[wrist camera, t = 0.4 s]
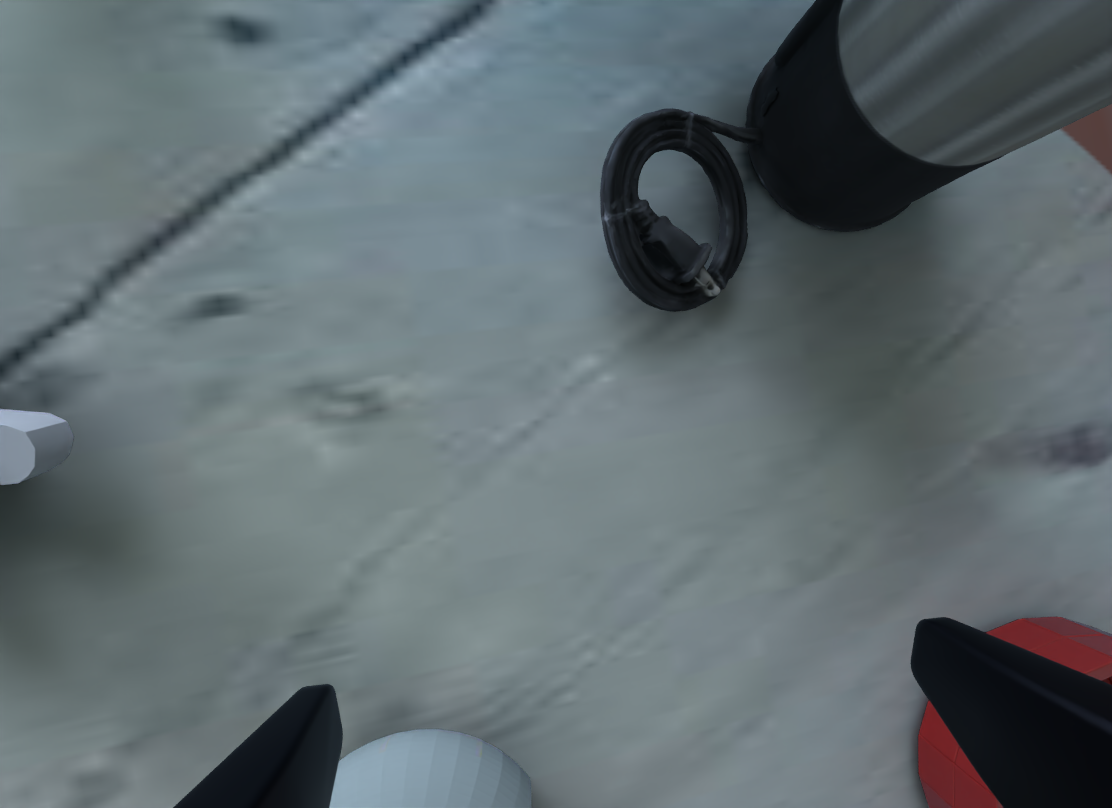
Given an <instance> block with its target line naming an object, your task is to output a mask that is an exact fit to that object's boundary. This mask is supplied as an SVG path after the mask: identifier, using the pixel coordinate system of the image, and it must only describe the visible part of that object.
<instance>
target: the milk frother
mask: <svg viewBox="0 0 1112 808" xmlns="http://www.w3.org/2000/svg"><path fill="white" fill-rule="evenodd" d="M1110 104H1112V0H816V1H815V2H814V3H813V5H812V6H811V7H810V8H809V9H808V11H807V12H806V13H805V14H804V16H803V17H802V18H801V19H800V21H799V22H798V23H797V24H796V26H795V27H794V28H793V29H792V31H791V32H790V33H789V35H788V36H787V37H786V39H785V40H784V42H783V43H782V44H781V46H780V47H779V49H778V51H777V53H776V54H775V55H774V56H773V57H772V58H771V59H770V60H769V62H768V63H767V64H766V65H765V67H764V68H763V70H762V72H761V73H760V75H759V77H758V79H757V81H756V83H755V85H754V87H753V90H752V93H751V96H750V100H749V104H748V108H747V121H746V128H744V127H737V126H733V125H729V124H725V123H722V122H719V121H716V120H713V119H711V118H709V117H706V116H702V115H698V114H694V113H692V112H691V111H689V112H686V111H682V110H679V109H661V110H658V111H655V112H651V113H647V114H644V115H642V116H640V117H637V118H635V119H634V120H633V121H631V122H630V123H629V124H628V125H626V126H625V127H624V128H623V129H622V130H621V131H620V133H619V134H618V135H617V137H616V138H615V139H614V141H613V143H612V145H611V147H610V149H609V151H608V153H607V156H606V159H605V162H604V165H603V169H602V177H601V189H600V198H601V218H602V224H603V231H604V236H605V240H606V244H607V248H608V252H609V255H610V258H611V260H612V262H613V265H614V267H615V269H616V271H617V273H618V275H619V277H620V278H621V279H622V280H623V282H624V284H625V286H627V287H628V289H629V290H630V291H631V292H632V293H634V294H635V295H636V296H637V297H638V298H639V299H641V300H642V301H643V302H645V303H646V304H648V305H650V306H653V307H655V308H658V309H661V310H666V311H672V312H676V311H686V310H690V309H693V308H696V307H698V306H700V305H702V304H704V303H706V302H708V301H710V300H712V299H713V298H715V297H716V296H717V295H718V294H719V293H720V291H721V290H722V289H724V288H725V286H726V284H727V283H728V281H729V279H730V278H732V277H733V275H734V273H735V272H736V270H737V268H738V266H739V264H740V262H741V260H742V257H743V254H744V252H745V248H746V244H747V238H748V233H747V204H746V197H745V192H744V188H743V184H742V181H741V178H740V175H739V172H738V170H737V168H736V166H735V164H734V162H733V160H732V158H731V156H730V155H729V153H728V152H727V150H726V148H725V147H724V146H723V145H722V144H721V142H720V141H719V140H718V139H717V138H716V136H715V135H714V134H713V133H712V132H716V133H719V134H722V135H725V136H727V137H729V138H732V139H734V140H736V141H739V142H743V143H747V144H748V150H749V154H750V157H751V162H752V163H753V165H754V168H755V171H756V173H757V175H758V177H759V178H760V180H761V182H762V184H763V186H764V187H765V188H766V189H767V190H768V191H769V193H770V194H771V196H772V197H773V198H774V199H775V200H776V202H777V203H778V204H779V205H780V206H781V207H782V208H784V209H785V210H786V211H787V212H789V213H790V214H792V215H793V216H795V217H797V218H798V219H800V220H801V221H803V222H806V223H808V224H810V225H813V226H817V227H820V228H822V229H825V230H834V231H843V232H848V231H859V230H864V229H868V228H871V227H875V226H877V225H880V224H882V223H884V222H886V221H888V220H890V219H892V218H893V217H895V216H897V215H898V214H899V213H901V212H902V211H903V210H905V209H906V208H907V207H908V206H909V205H910V204H911V203H912V202H913V201H915V200H917V199H919V198H921V197H923V196H925V195H927V194H928V193H930V192H932V191H934V190H936V189H938V188H940V187H942V186H944V185H946V184H948V183H950V182H952V181H954V180H955V179H957V178H959V177H961V176H964V175H965V174H967V173H969V172H971V171H973V170H975V169H978V168H980V167H982V166H984V165H986V164H988V163H990V162H992V161H995V160H997V159H999V158H1001V157H1002V156H1004V155H1006V154H1008V153H1010V152H1012V151H1014V150H1016V149H1018V148H1020V147H1023V146H1025V145H1027V144H1029V143H1031V142H1033V141H1036V140H1038V139H1040V138H1042V137H1044V136H1046V135H1048V134H1050V133H1052V132H1054V131H1056V130H1058V129H1060V128H1062V127H1064V126H1067V125H1069V124H1071V123H1073V122H1075V121H1077V120H1079V119H1081V118H1083V117H1085V116H1087V115H1089V114H1091V113H1093V112H1095V111H1098V110H1099V109H1101V108H1104V107H1106V106H1108V105H1110ZM662 150H676V151H679V152H683V153H685V154H687V155H689V156H690V157H692V158H693V159H694V160H695V161H697V162H698V163H699V164H700V165H701V166H702V168H703V170H704V171H705V173H706V174H707V176H708V178H709V179H710V182H711V184H712V186H713V189H714V192H715V195H716V199H717V202H718V209H719V219H720V233H719V239H718V245H717V249H716V253H715V255H714V258H713V260H712V262H711V265H710V267H709V268H708V270H706V269H705V267H704V265H705V263H706V262H707V260H708V258H709V254H710V252H711V250H712V247H711V245H710V244H708V243H704V244H701V245H698V244H697V243H696V242H695V241H694V240H693V239H692V238H691V237H690V236H688V235H687V234H686V233H684V232H683V231H681V230H680V229H679V228H677V227H675V226H674V225H672V223H671V222H670V220H669V219H668V218H667V217H666V216H661V217H659V216H657V215H656V214H655V213H654V212H653V211H652V209H651V208H650V206H649V203H648V201H647V200H640V199H639V197H638V180H639V176H640V173H641V169H642V167H643V165H644V164H645V162H646V161H647V160H648V159H649V158H650V157H651V156H652V155H653V154H654V153H655V152H659V151H662Z"/></svg>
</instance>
